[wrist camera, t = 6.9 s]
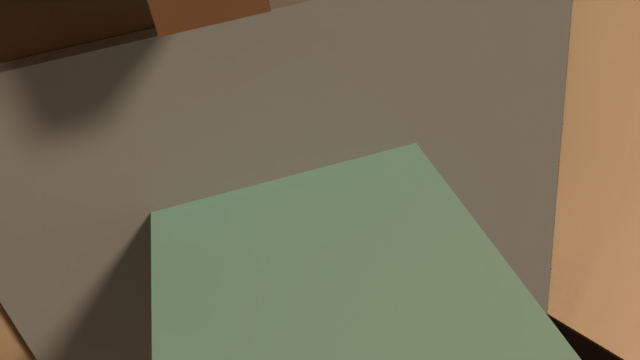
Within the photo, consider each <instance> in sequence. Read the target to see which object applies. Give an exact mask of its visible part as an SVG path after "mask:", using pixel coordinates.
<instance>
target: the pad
mask: <svg viewBox="0 0 640 360" xmlns="http://www.w3.org/2000/svg"><path fill="white" fill-rule="evenodd" d="M572 2H573V0H272V1H269V3H270V7H271V11H270V12H266V13H262V14H257V15H253V16H249V17H245V18H240V19H236V20H232V21H227V22H223V23H219V24H214V25H210V26H206V27H201V28H197V29H193V30H189V31H184V32H180V33H176V34H171V35H167V36H163V37H158V34H157V30H156V27H155V28H150V29H146V30H142V31H137V32H133V33H129V34H124V35H120V36H116V37H111V38H107V39H103V40H98V41H94V42H90V43H85V44H81V45H77V46H72V47H68V48H64V49H59V50H55V51H51V52H46V53H42V54H38V55H33V56H29V57H24V58H20V59H16V60H11V61H7V62H3V63H0V303H1V304H2V306H3V308H4V309H5V311H6V312H7V314H8V315H9V317H10V319H11V320H12V322H13V323H14V325H15V326H16V328H17V330H18V331H19V333H20V334H21V336H22V337H23V339H24V341H25V342H26V344H27V345H28V347H29V348H30V350H31V352H32V353H33V355H34V356H35V358H36V359H37V360H152V311H151V212H154V211H158V210H162V209H165V208H169V207H173V206H177V205H181V204H185V203H188V202H192V201H196V200H200V199H204V198H207V197H211V196H215V195H219V194H223V193H227V192H230V191H234V190H238V189H242V188H246V187H250V186H253V185H257V184H261V183H265V182H269V181H272V180H276V179H280V178H284V177H288V176H292V175H295V174H299V173H303V172H307V171H311V170H314V169H318V168H322V167H326V166H330V165H334V164H337V163H341V162H345V161H349V160H353V159H357V158H360V157H364V156H368V155H372V154H376V153H379V152H383V151H387V150H391V149H395V148H399V147H402V146H406V145H410V144H414V143H417V145H418V146H419V147H420V149H421V150H422V151H423V153H424V154H425V155H426V157H427V158H428V159H429V160H430V162H431V163H432V164H433V166H434V167H435V168H436V170H437V171H438V172H439V174H440V175H441V176H442V178H443V179H444V180H445V181H446V183H447V184H448V185H449V187H450V188H451V189H452V191H453V192H454V193H455V195H456V196H457V197H458V199H459V200H460V201H461V202H462V204H463V205H464V206H465V208H466V209H467V210H468V212H469V213H470V214H471V216H472V217H473V218H474V219H475V221H476V222H477V223H478V225H479V226H480V227H481V229H482V230H483V231H484V233H485V234H486V235H487V237H488V238H489V239H490V240H491V242H492V243H493V244H494V246H495V247H496V248H497V250H498V251H499V252H500V254H501V255H502V256H503V258H504V259H505V260H506V261H507V263H508V264H509V265H510V267H511V268H512V269H513V271H514V272H515V273H516V275H517V276H518V277H519V279H520V280H521V281H522V282H523V284H524V285H525V286H526V288H527V289H528V290H529V292H530V293H531V294H532V296H533V297H534V298H535V300H536V301H537V302H538V303H539V305H540V306H541V307H542V309H543V310H544V311H545V313H547V310H548V298H549V286H550V273H551V261H552V249H553V236H554V224H555V212H556V199H557V187H558V175H559V162H560V150H561V138H562V125H563V113H564V101H565V88H566V76H567V64H568V51H569V39H570V27H571V14H572Z"/></svg>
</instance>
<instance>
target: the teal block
mask: <svg viewBox="0 0 640 360" xmlns="http://www.w3.org/2000/svg"><path fill="white" fill-rule="evenodd" d="M151 311H152V360H581V359H580V357H579V356H578V355H577V353H576V352H575V351H574V349H573V348H572V347H571V345H570V344H569V343H568V342H567V340H566V339H565V338H564V336H563V335H562V334H561V332H560V331H559V330H558V328H557V327H556V326H555V324H554V323H553V322H552V321H551V319H550V318H549V317H548V315H547V314H546V313H545V311H544V310H543V309H542V307H541V306H540V305H539V303H538V302H537V301H536V300H535V298H534V297H533V296H532V294H531V293H530V292H529V290H528V289H527V288H526V286H525V285H524V284H523V282H522V281H521V280H520V279H519V277H518V276H517V275H516V273H515V272H514V271H513V269H512V268H511V267H510V265H509V264H508V263H507V261H506V260H505V259H504V258H503V256H502V255H501V254H500V252H499V251H498V250H497V248H496V247H495V246H494V244H493V243H492V242H491V240H490V239H489V238H488V237H487V235H486V234H485V233H484V231H483V230H482V229H481V227H480V226H479V225H478V223H477V222H476V221H475V219H474V218H473V217H472V216H471V214H470V213H469V212H468V210H467V209H466V208H465V206H464V205H463V204H462V202H461V201H460V200H459V199H458V197H457V196H456V195H455V193H454V192H453V191H452V189H451V188H450V187H449V185H448V184H447V183H446V181H445V180H444V179H443V178H442V176H441V175H440V174H439V172H438V171H437V170H436V168H435V167H434V166H433V164H432V163H431V162H430V160H429V159H428V158H427V157H426V155H425V154H424V153H423V151H422V150H421V149H420V147H419V146H418V145H417V143H414V144H410V145H406V146H402V147H399V148H395V149H391V150H387V151H383V152H379V153H376V154H372V155H368V156H364V157H360V158H357V159H353V160H349V161H345V162H341V163H337V164H334V165H330V166H326V167H322V168H318V169H314V170H311V171H307V172H303V173H299V174H295V175H292V176H288V177H284V178H280V179H276V180H272V181H269V182H265V183H261V184H257V185H253V186H250V187H246V188H242V189H238V190H234V191H230V192H227V193H223V194H219V195H215V196H211V197H207V198H204V199H200V200H196V201H192V202H188V203H185V204H181V205H177V206H173V207H169V208H165V209H162V210H158V211H154V212H151Z"/></svg>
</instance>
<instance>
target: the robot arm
mask: <svg viewBox="0 0 640 360" xmlns="http://www.w3.org/2000/svg"><path fill="white" fill-rule="evenodd" d="M546 314H547V313H546ZM547 315H548V317H549V318H550V319H551V321H552V322H553V323H554V324H555V326H556V327H557V328H558V330H559V331H560V332H561V334H562V335H563V336H564V338H565V339H566V340H567V342H568V343H569V344H570V345H571V347H572V348H573V349H574V351H575V352H576V353H577V355H578V356H579V357H580V359H581V360H624V359H622V358H620V357H619V356H617V355H615V354H614V353H612V352H610V351H609V350H607V349H605V348H604V347H602V346H600V345H599V344H597V343H595V342H594V341H592V340H590V339H589V338H587V337H585V336H584V335H582V334H580V333H579V332H577V331H575V330H574V329H572V328H570V327H569V326H567V325H565V324H564V323H562V322H560V321H559V320H557V319H555V318H554V317H552V316H550V315H549V314H547Z"/></svg>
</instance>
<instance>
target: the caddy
mask: <svg viewBox="0 0 640 360" xmlns="http://www.w3.org/2000/svg"><path fill="white" fill-rule="evenodd" d="M147 2H148V5H149V8H150V12H151V15H152V18H153V21H154V24H155V27H156V30H157V34H158V37H163V36H167V35H171V34H176V33H180V32H184V31H189V30H193V29H197V28H201V27H206V26H210V25H214V24H219V23H223V22H227V21H232V20H236V19H240V18H245V17H249V16H253V15H257V14H262V13H266V12H270V11H271V7H270V3H269V0H147Z"/></svg>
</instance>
